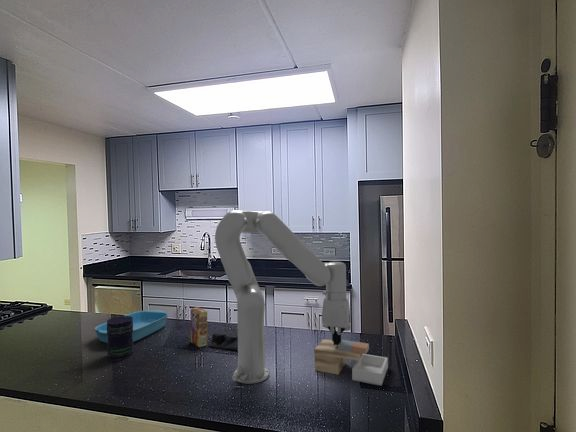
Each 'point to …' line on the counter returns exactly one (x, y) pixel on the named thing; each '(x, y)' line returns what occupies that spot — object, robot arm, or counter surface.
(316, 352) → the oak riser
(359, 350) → the terracotta tile
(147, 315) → the casserole dish
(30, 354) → the counter surface
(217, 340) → the black flat block
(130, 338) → the storage jar
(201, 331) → the candy box
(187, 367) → the counter surface
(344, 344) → the slate tile
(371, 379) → the tray
